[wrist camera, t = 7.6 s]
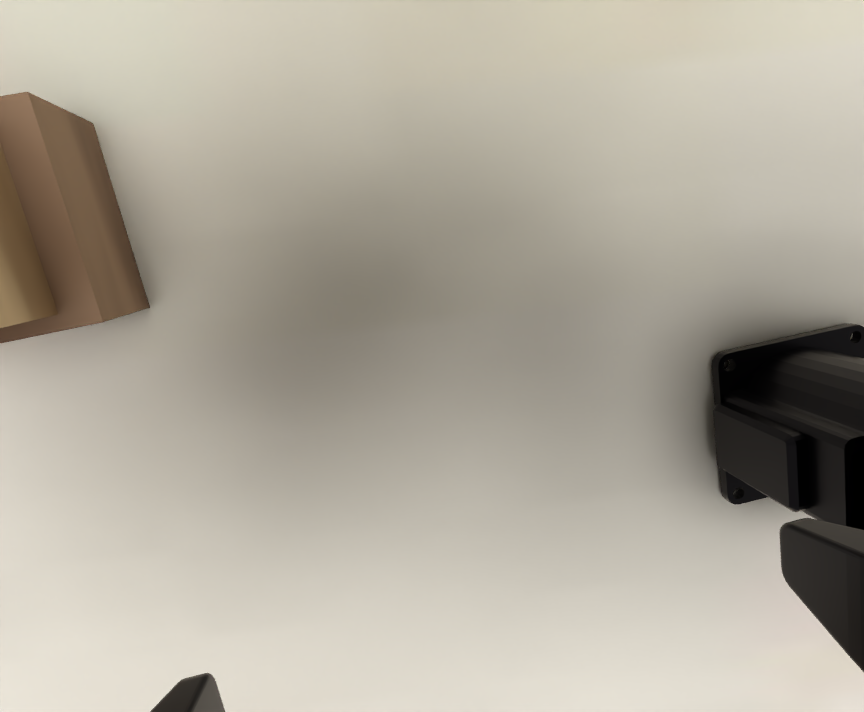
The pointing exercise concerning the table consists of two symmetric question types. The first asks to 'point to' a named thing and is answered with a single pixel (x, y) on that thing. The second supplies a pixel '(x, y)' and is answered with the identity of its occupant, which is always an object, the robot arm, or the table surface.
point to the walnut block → (68, 216)
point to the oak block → (19, 261)
